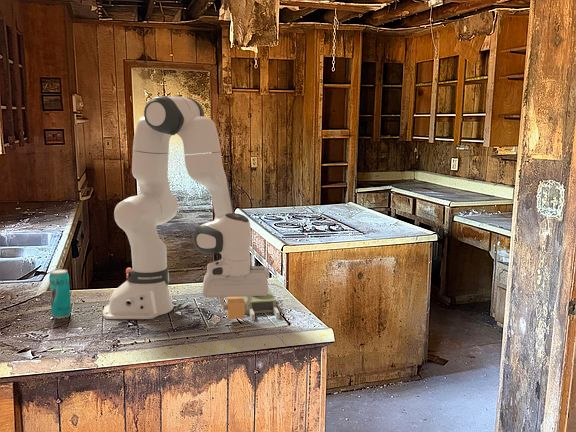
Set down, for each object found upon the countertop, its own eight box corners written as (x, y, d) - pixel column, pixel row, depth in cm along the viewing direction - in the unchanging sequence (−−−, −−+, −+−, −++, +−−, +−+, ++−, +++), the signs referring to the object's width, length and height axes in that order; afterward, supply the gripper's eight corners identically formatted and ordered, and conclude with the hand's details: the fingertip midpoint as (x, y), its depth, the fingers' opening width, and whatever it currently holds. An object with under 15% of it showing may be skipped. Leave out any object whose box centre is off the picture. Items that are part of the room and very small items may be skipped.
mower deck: (245, 321, 169) (245, 293, 167) (238, 300, 189) (237, 275, 187) (279, 318, 171) (279, 291, 170) (268, 298, 191) (268, 274, 189)
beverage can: (49, 316, 172) (45, 271, 170) (66, 312, 176) (63, 267, 174) (56, 320, 168) (53, 274, 166) (74, 316, 172) (71, 271, 170)
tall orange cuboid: (228, 318, 163) (228, 303, 162) (226, 310, 170) (226, 295, 169) (244, 318, 164) (244, 302, 163) (241, 310, 171) (242, 295, 170)
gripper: (267, 263, 169) (266, 304, 172) (202, 264, 165) (202, 307, 168) (271, 268, 163) (269, 311, 166) (203, 270, 159) (203, 314, 161)
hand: (235, 309), depth 167 cm, fingers closed on tall orange cuboid, 5 cm apart
